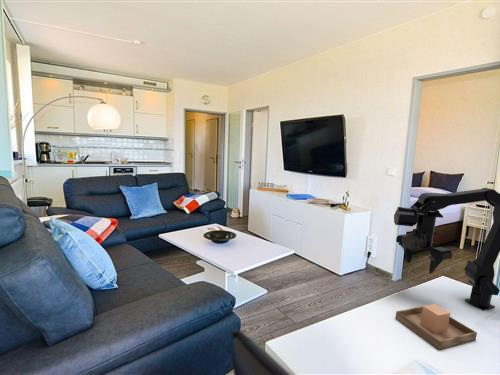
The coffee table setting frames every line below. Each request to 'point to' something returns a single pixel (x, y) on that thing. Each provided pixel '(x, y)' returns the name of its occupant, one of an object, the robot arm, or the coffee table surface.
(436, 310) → the terracotta block
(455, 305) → the coffee table surface
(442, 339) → the walnut tray
